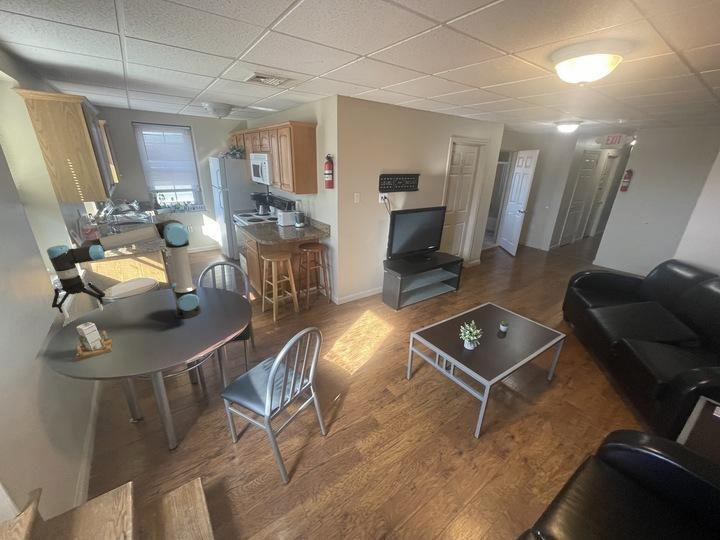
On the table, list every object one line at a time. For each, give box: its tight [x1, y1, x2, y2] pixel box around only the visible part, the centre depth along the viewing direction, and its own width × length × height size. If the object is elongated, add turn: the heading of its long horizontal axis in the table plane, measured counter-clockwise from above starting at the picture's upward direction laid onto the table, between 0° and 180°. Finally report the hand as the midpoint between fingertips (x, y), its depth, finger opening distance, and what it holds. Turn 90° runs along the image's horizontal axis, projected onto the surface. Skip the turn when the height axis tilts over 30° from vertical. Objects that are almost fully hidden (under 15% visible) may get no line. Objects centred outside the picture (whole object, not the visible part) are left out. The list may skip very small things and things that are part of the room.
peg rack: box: [74, 329, 114, 362], centre depth 156 cm, size 12×14×8 cm
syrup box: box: [76, 321, 102, 351], centre depth 154 cm, size 6×6×14 cm
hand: (85, 313), depth 150 cm, fingers open, 13 cm apart
